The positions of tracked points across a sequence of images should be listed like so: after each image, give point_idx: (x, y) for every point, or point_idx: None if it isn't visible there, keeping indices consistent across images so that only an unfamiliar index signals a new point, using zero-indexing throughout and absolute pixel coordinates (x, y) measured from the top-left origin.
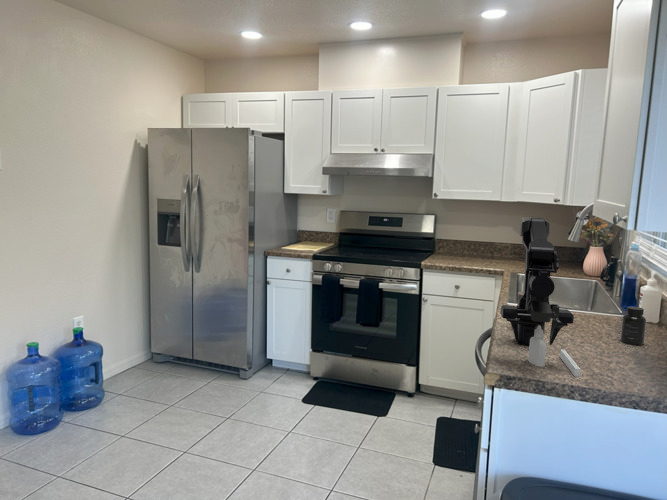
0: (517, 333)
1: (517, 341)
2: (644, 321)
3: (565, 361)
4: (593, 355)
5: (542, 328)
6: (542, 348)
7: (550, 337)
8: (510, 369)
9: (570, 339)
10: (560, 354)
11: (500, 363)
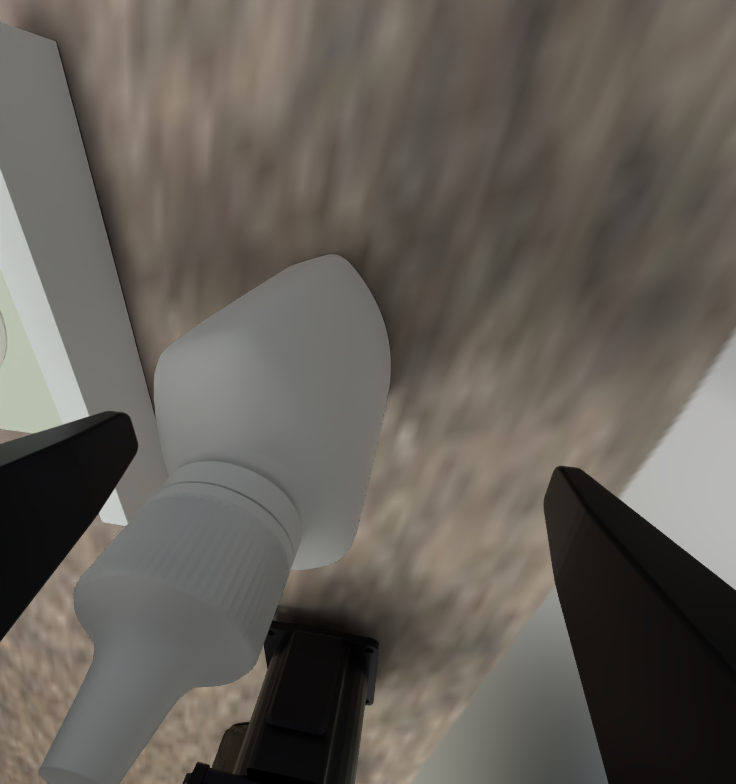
0: (656, 573)
1: (566, 467)
2: None
3: (112, 373)
4: None
5: (221, 759)
6: (238, 313)
7: (63, 504)
8: (618, 188)
9: None
10: (147, 493)
11: (643, 340)
